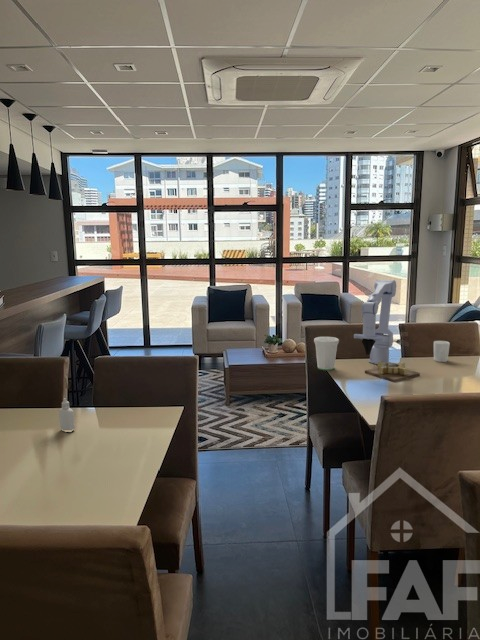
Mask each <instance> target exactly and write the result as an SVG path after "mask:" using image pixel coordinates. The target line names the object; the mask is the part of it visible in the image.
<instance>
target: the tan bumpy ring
mask: <svg viewBox="0 0 480 640" xmlns="http://www.w3.org/2000/svg"><path fill="white" fill-rule="evenodd" d="M389 362H390V363H386V362H382V361H380V362H378V364H376V365H377V367H378V368H379V373H381V374H385V373H391V374H392V373H393V374H402V375H407V371H408V370H409V369H408V368H407V367H406V363H405V362H402V361H400V362H392V363H391V361H389ZM388 364H396V365H397V367H389V366H388ZM377 367H376V368H377Z"/></svg>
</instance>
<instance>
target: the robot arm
mask: <svg viewBox="0 0 480 640" xmlns="http://www.w3.org/2000/svg"><path fill="white" fill-rule="evenodd" d="M396 293H397V281H396V280H395V279H376V280H375V281H374V292H372V293H371V294H370V296H368V298H367V300H366V301H365V302H363V303H362V305H361V313H362V318H363V319H362V322H363V323H362V334H360V333H354V334H353V339H360V340H361V343H362V345H363V347H364V350H365V354H366V355H368V356H369V360H368V363H371V364H375V365H378V362H380V361H382V362H386V363H390V362H391V361H390V348H391V347H392V346H393V344H394V334H393V332H392V330H390V329H389V323H390V315H391V304H392V299H393V297H395V296H396ZM380 304H381V305H380ZM379 306H380V312H379V322H378V328H376V325H377V324H376V321H377V320H376V319H377V314H378V311H379ZM391 363H393V362H391Z"/></svg>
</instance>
